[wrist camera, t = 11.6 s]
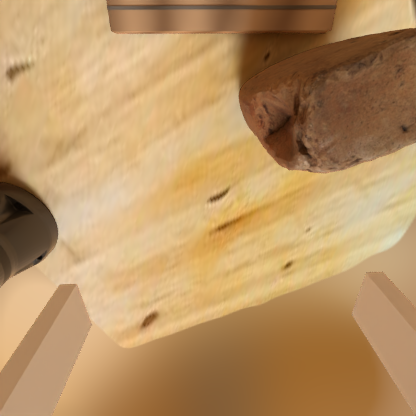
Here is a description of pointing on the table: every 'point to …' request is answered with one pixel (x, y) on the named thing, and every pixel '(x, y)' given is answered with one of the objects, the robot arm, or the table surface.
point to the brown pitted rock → (336, 102)
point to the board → (220, 16)
